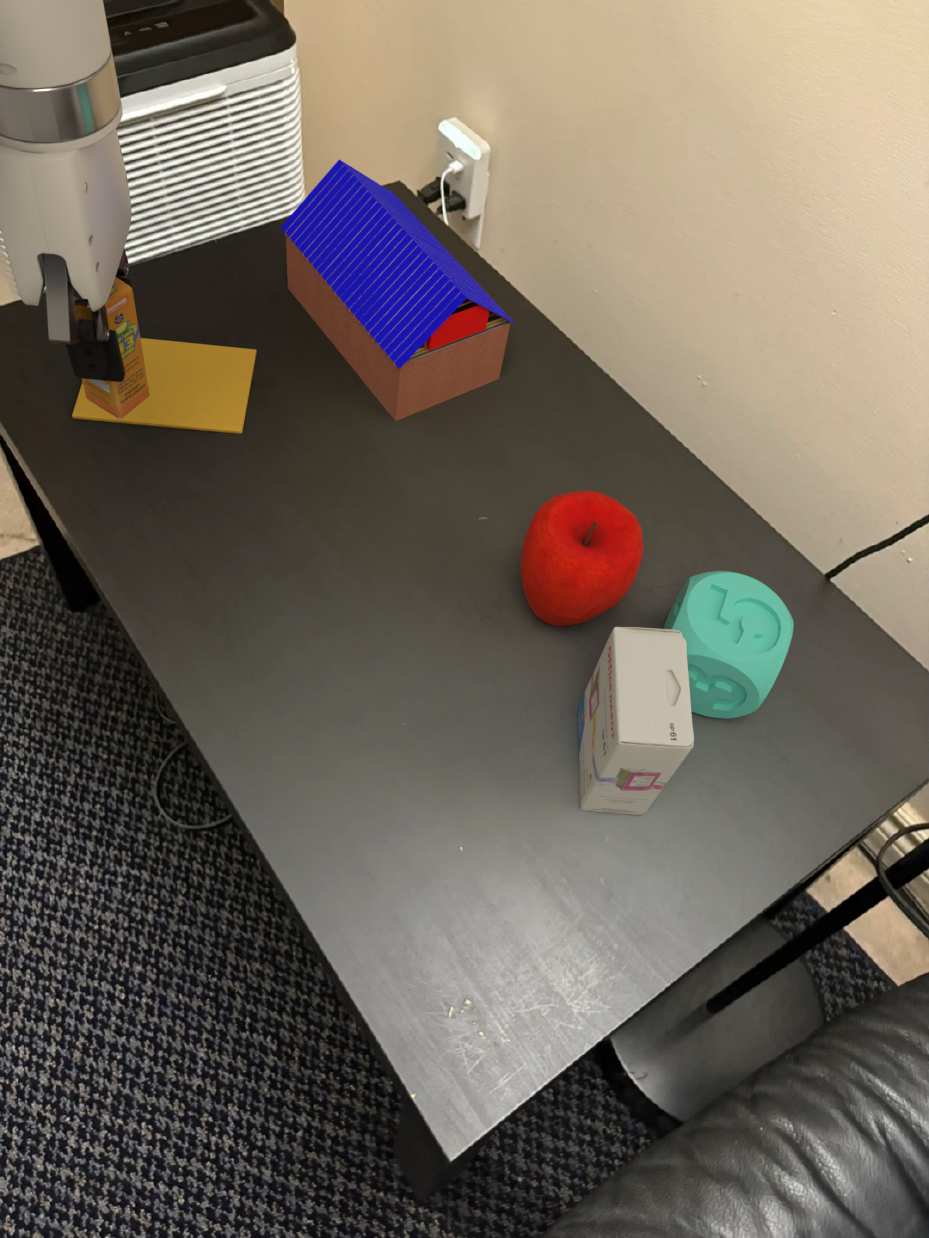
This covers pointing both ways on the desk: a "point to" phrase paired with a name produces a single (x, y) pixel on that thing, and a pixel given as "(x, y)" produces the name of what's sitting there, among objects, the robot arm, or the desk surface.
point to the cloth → (187, 388)
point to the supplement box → (134, 386)
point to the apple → (579, 557)
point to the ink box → (634, 720)
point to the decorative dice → (730, 641)
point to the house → (391, 295)
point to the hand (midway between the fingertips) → (108, 349)
